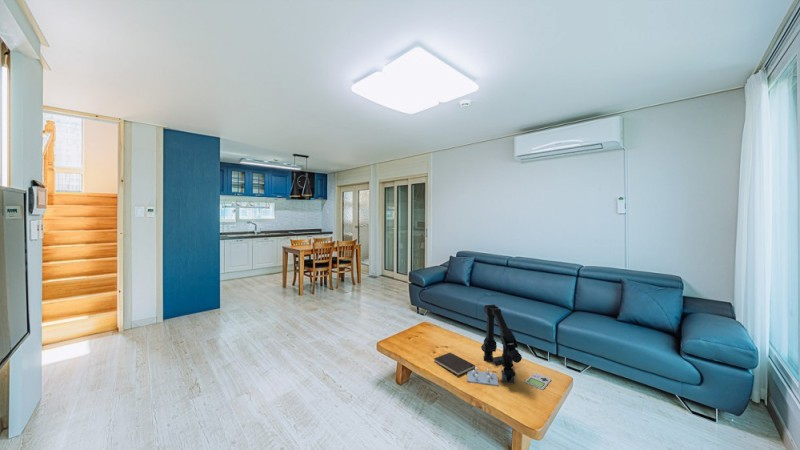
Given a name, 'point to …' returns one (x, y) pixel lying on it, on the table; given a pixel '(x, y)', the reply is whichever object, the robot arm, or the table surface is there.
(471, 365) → the hardcover book
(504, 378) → the drive
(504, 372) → the robot arm
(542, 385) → the handheld gaming console
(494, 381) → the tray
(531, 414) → the table surface
